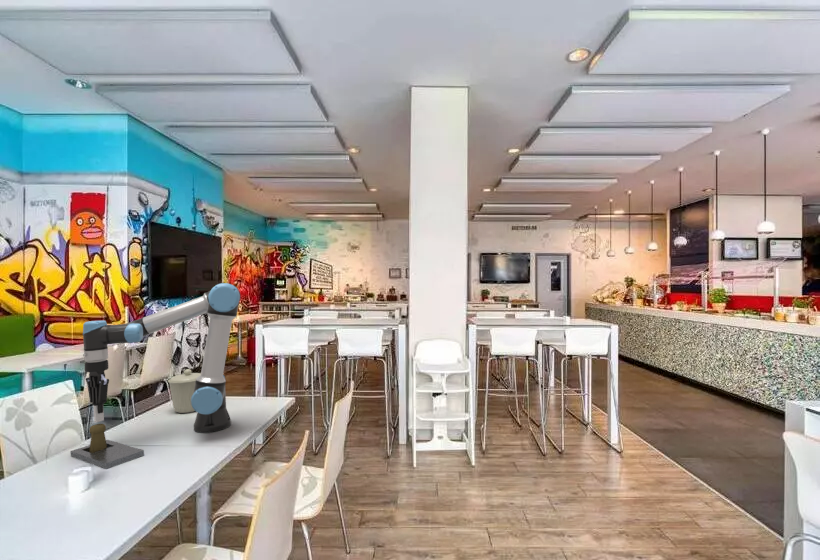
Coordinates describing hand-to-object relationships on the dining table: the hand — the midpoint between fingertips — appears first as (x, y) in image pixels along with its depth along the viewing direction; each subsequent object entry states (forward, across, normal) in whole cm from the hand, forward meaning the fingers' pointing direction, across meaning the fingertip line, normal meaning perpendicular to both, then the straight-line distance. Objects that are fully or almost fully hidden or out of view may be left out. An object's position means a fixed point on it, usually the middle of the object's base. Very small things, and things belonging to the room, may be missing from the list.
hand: (99, 421), depth 170 cm
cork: (+12, 0, -1) cm, 12 cm away
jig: (+12, +7, -1) cm, 14 cm away
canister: (+13, -21, +50) cm, 56 cm away
